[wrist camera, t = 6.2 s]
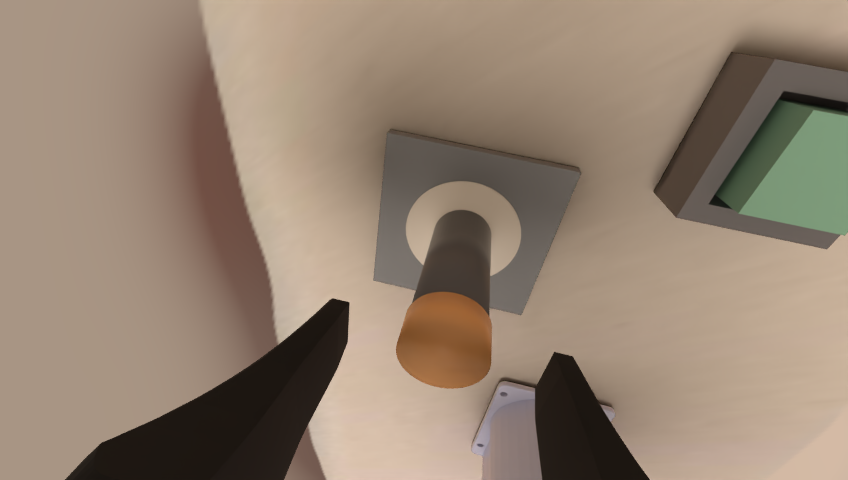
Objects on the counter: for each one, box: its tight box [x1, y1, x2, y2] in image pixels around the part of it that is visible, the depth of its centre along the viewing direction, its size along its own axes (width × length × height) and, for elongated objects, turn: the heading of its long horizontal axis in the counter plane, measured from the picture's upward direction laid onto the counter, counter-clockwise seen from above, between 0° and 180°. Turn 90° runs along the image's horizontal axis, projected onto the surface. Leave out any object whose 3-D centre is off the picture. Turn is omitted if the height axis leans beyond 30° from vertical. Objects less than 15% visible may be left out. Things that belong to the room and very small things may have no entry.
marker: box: [396, 210, 492, 388], centre depth 15 cm, size 3×3×8 cm
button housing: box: [654, 52, 848, 249], centre depth 14 cm, size 6×6×2 cm
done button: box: [715, 98, 848, 236], centre depth 13 cm, size 4×4×2 cm
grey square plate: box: [373, 129, 581, 315], centre depth 19 cm, size 9×9×1 cm
